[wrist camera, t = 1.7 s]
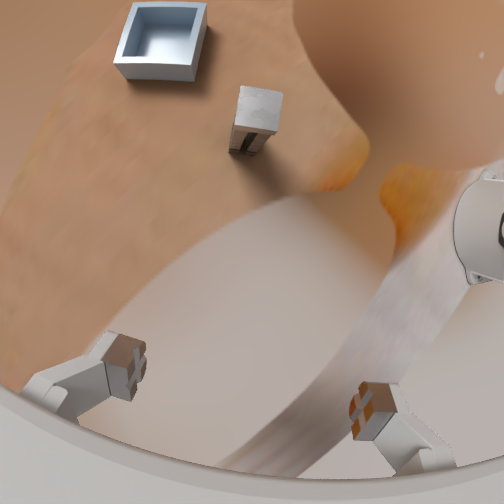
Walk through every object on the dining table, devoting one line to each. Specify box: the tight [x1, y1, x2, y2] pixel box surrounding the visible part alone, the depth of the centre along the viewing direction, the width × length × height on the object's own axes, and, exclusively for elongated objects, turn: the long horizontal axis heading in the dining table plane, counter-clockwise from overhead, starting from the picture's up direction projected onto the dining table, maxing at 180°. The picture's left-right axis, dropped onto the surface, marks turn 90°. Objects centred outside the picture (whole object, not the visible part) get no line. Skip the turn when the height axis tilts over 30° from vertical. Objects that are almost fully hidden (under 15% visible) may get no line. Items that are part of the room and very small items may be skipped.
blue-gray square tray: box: [113, 2, 207, 82], centre depth 28 cm, size 9×9×5 cm
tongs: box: [228, 86, 283, 156], centre depth 27 cm, size 3×3×14 cm
